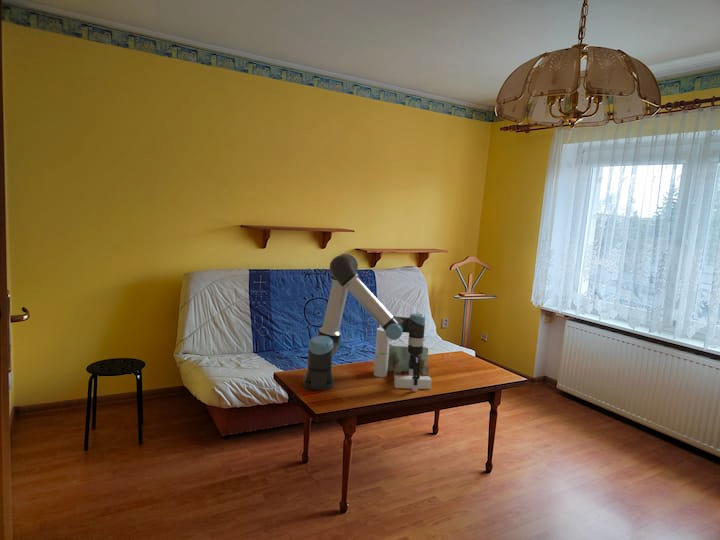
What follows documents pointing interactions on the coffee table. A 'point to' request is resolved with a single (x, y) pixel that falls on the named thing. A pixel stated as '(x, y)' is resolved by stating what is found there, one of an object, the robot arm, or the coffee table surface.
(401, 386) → the rail
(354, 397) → the coffee table surface
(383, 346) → the cylindrical container
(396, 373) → the cup bracket
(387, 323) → the robot arm
